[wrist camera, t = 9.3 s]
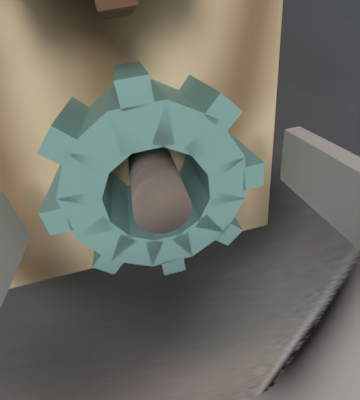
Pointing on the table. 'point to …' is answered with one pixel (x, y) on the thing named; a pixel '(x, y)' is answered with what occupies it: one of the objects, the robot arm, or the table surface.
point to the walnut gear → (115, 8)
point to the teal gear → (137, 142)
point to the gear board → (103, 79)
